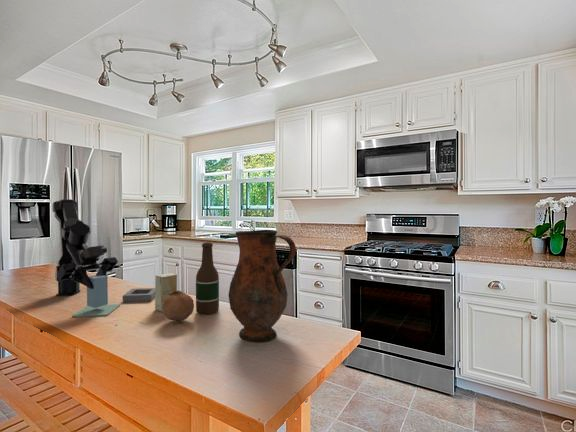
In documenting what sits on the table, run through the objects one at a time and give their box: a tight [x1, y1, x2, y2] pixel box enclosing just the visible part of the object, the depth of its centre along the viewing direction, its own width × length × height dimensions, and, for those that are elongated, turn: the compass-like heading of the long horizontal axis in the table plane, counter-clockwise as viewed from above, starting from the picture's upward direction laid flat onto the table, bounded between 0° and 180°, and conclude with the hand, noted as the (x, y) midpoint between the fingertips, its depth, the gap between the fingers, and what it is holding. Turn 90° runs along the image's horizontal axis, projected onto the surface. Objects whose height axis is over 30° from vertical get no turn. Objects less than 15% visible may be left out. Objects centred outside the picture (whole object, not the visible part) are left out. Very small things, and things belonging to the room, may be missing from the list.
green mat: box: [71, 303, 121, 318], centre depth 111 cm, size 11×11×1 cm
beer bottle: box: [195, 242, 220, 316], centre depth 111 cm, size 8×8×24 cm
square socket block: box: [122, 287, 155, 303], centre depth 127 cm, size 10×10×2 cm
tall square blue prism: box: [86, 274, 109, 308], centre depth 111 cm, size 4×4×10 cm
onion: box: [162, 290, 195, 323], centre depth 101 cm, size 10×9×10 cm
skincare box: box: [154, 272, 178, 312], centre depth 114 cm, size 6×4×12 cm
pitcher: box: [228, 229, 297, 343], centre depth 89 cm, size 17×21×30 cm
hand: (99, 286), depth 110 cm, fingers closed on tall square blue prism, 4 cm apart
